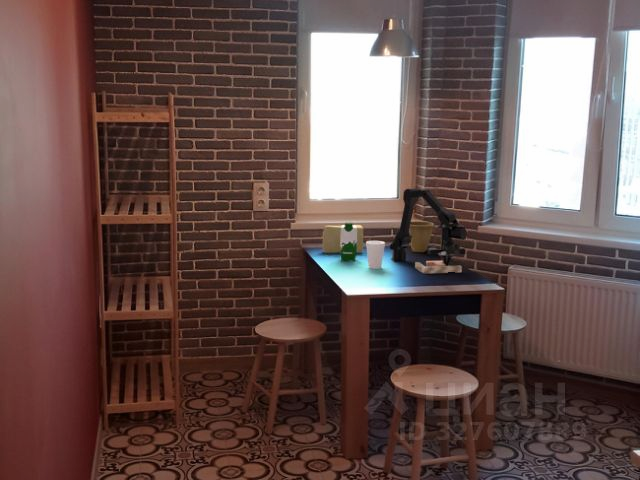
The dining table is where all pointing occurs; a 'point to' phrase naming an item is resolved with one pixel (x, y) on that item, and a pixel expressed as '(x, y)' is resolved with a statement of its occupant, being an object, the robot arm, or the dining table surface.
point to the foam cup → (375, 253)
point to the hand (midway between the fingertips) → (445, 267)
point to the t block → (434, 263)
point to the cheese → (333, 239)
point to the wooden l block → (437, 268)
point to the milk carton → (348, 242)
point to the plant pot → (420, 235)
